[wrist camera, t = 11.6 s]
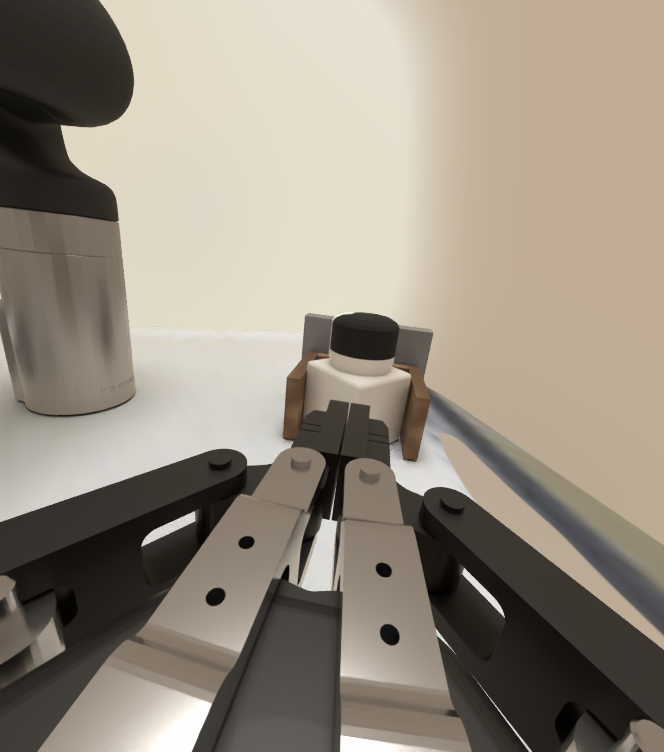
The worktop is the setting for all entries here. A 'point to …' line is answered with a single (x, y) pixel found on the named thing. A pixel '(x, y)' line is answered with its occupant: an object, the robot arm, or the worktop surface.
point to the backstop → (408, 350)
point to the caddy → (412, 414)
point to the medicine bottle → (360, 370)
